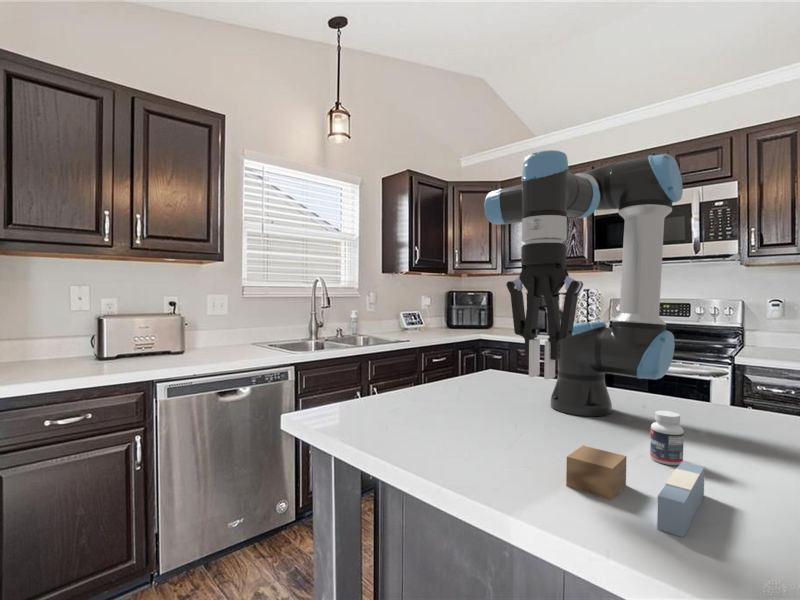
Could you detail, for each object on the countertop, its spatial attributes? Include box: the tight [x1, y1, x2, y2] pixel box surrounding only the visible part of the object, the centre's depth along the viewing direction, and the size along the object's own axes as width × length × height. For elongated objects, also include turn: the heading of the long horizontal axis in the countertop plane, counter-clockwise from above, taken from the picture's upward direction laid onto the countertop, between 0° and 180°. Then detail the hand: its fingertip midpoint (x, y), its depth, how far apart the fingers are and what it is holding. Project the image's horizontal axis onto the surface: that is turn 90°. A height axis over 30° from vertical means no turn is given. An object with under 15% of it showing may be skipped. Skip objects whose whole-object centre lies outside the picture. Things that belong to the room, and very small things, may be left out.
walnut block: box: [565, 445, 628, 501], centre depth 72 cm, size 7×7×5 cm
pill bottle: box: [649, 410, 685, 466], centre depth 82 cm, size 5×5×9 cm
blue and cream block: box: [656, 460, 705, 538], centre depth 64 cm, size 3×16×5 cm, turn 138°
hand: (541, 376), depth 78 cm, fingers open, 2 cm apart
